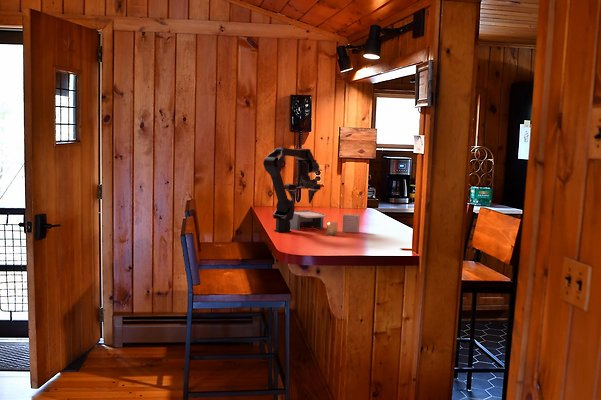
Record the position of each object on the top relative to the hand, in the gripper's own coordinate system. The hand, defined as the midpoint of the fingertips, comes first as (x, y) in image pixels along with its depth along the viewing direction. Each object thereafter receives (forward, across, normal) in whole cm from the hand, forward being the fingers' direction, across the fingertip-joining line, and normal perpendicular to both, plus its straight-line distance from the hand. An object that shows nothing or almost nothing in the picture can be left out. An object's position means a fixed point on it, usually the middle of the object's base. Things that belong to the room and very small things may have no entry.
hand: (301, 203), depth 339 cm
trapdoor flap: (+10, +3, -2) cm, 10 cm away
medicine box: (+13, +20, -17) cm, 29 cm away
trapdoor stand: (+13, +3, +3) cm, 14 cm away
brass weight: (+13, +5, -22) cm, 26 cm away
